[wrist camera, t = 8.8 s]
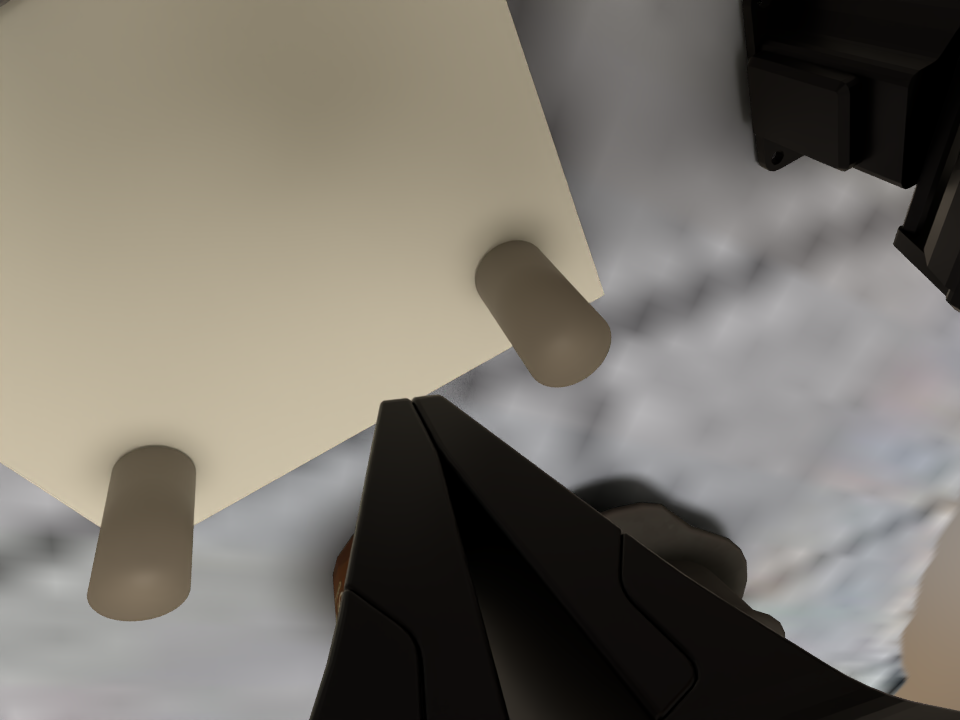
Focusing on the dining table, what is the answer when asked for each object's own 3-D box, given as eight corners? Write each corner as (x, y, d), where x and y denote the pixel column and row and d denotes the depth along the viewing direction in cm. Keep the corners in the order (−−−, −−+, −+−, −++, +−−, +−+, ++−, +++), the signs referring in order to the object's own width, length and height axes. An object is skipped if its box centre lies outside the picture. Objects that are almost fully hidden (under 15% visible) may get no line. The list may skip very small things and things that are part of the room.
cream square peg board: (304, -501, 11) (367, -821, 6) (579, 268, 23) (676, 368, 18) (-579, -8, 11) (-1211, 58, 6) (147, 511, 23) (126, 677, 18)
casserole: (363, 602, 30) (400, 788, 24) (692, 413, 30) (818, 549, 24) (532, 740, 47) (582, 874, 40) (748, 616, 46) (833, 730, 40)
